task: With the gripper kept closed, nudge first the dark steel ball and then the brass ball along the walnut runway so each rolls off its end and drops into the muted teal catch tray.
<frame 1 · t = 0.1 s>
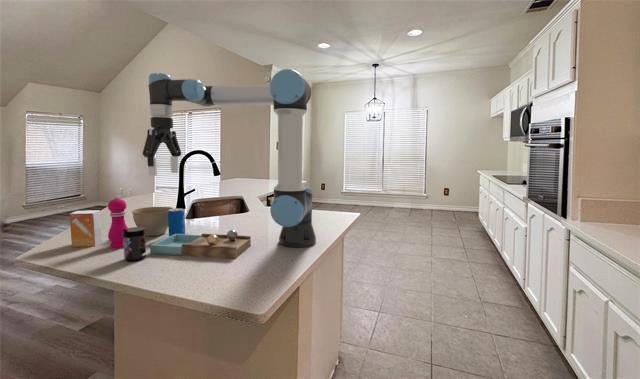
hand: (164, 174, 125), 28 cm above the counter, fingers open, 13 cm apart
supplement container: (135, 259, 112), on the counter
walnut runway: (218, 250, 123), on the counter
pink tall rounded piece: (119, 246, 126), on the counter
brass ball: (212, 240, 118), point 5 cm above the counter, touching walnut runway
small box: (87, 244, 128), on the counter
planter bowl: (154, 233, 145), on the counter
beverage can: (177, 237, 140), on the counter
catch tray: (178, 248, 125), on the counter
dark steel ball: (232, 235, 125), point 5 cm above the counter, touching walnut runway
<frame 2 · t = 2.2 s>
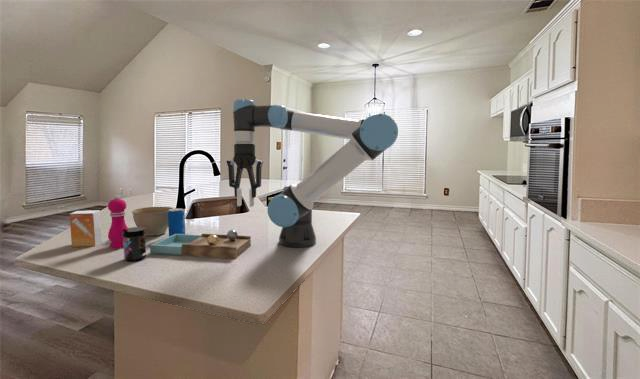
hand: (245, 205, 123), 17 cm above the counter, fingers open, 4 cm apart
nothing on the counter moved.
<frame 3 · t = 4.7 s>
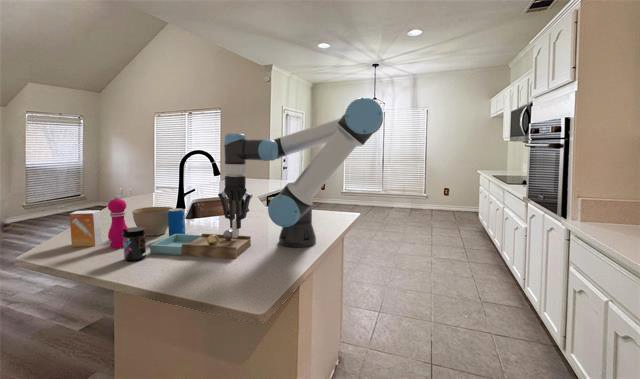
hand: (235, 236, 125), 4 cm above the counter, fingers closed
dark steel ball: (228, 234, 126), point 5 cm above the counter, tilted 41°, touching walnut runway
everything else where it was.
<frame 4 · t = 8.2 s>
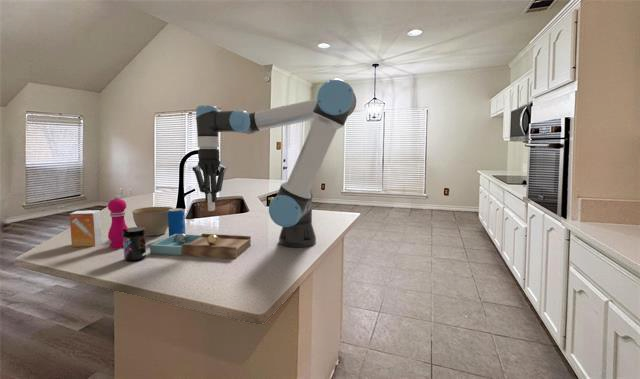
hand: (211, 210, 125), 14 cm above the counter, fingers closed
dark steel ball: (181, 238, 129), point 3 cm above the counter, tilted 100°, touching catch tray
everything else where it was.
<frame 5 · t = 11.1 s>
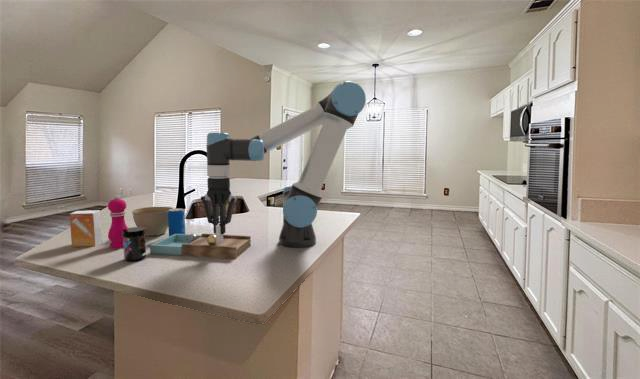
hand: (219, 242, 118), 4 cm above the counter, fingers closed
brass ball: (212, 240, 118), point 5 cm above the counter, touching gripper, walnut runway
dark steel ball: (192, 239, 128), point 3 cm above the counter, tilted 132°, touching catch tray
everything else where it was.
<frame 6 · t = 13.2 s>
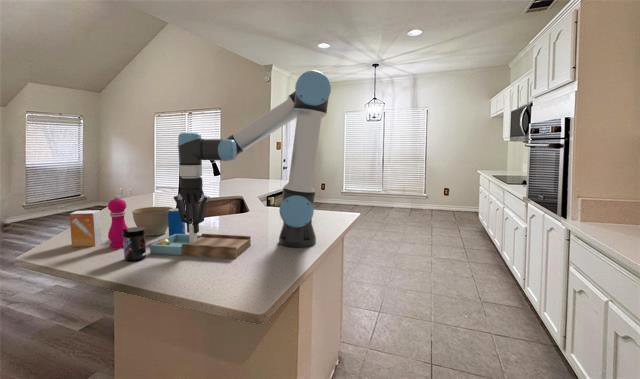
hand: (193, 241, 119), 4 cm above the counter, fingers closed
brass ball: (164, 244, 121), point 3 cm above the counter, tilted 160°, touching catch tray
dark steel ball: (193, 239, 128), point 3 cm above the counter, tilted 123°, touching catch tray
everything else where it was.
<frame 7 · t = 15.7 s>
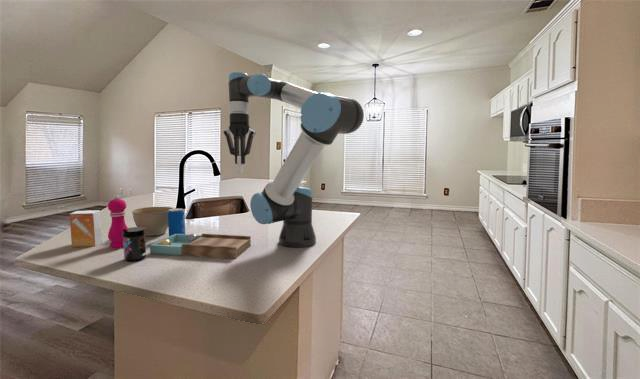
hand: (240, 172, 134), 28 cm above the counter, fingers closed
brass ball: (165, 244, 120), point 3 cm above the counter, tilted 172°, touching catch tray
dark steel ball: (192, 239, 128), point 3 cm above the counter, tilted 128°, touching catch tray
everything else where it was.
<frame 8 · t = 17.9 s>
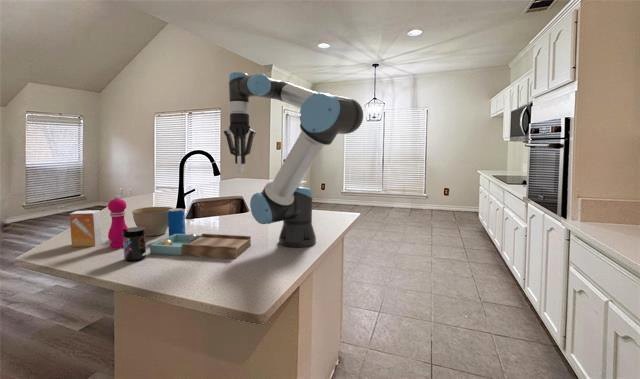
hand: (240, 171, 134), 28 cm above the counter, fingers closed
brass ball: (166, 244, 120), point 3 cm above the counter, tilted 162°, touching catch tray
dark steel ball: (192, 239, 128), point 3 cm above the counter, tilted 133°, touching catch tray
everything else where it was.
at the end: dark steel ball inside the target area on the catch tray (5.3 cm from its centre), point 2.6 cm above the catch tray's base; brass ball inside the target area on the catch tray (5.0 cm from its centre), point 2.6 cm above the catch tray's base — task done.
